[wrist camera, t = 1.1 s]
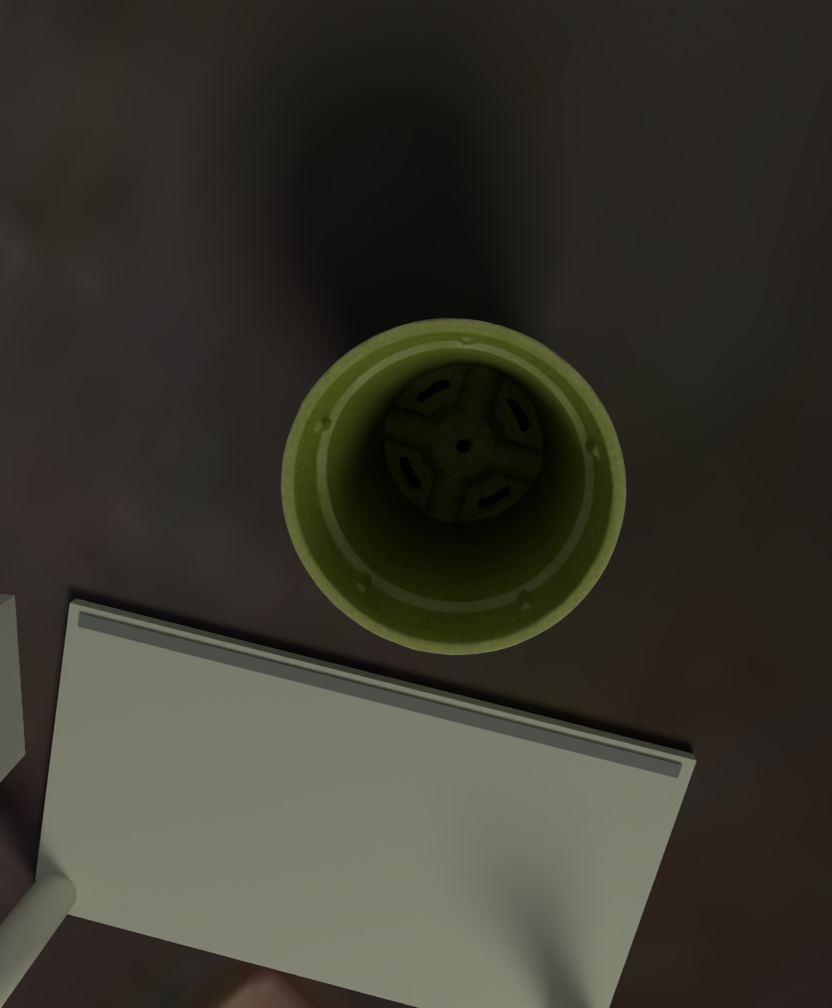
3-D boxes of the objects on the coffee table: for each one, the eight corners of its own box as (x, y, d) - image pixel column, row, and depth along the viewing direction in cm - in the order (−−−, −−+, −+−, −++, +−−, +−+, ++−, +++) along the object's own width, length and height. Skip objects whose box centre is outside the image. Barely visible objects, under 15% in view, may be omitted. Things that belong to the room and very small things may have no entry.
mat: (693, 753, 32) (787, 957, 22) (591, 1043, 36) (630, 1333, 26) (76, 598, 33) (-110, 725, 23) (38, 896, 37) (-136, 1120, 26)
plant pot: (422, 605, 32) (397, 710, 23) (292, 402, 30) (215, 436, 22) (633, 487, 30) (689, 555, 21) (505, 266, 28) (511, 245, 20)
